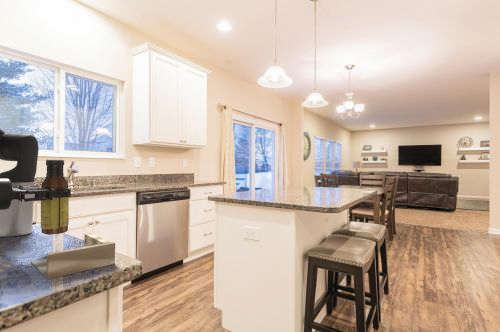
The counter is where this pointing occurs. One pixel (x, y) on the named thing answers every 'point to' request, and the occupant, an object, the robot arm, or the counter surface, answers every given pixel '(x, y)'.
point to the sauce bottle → (54, 200)
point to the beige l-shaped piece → (78, 258)
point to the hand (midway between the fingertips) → (65, 191)
